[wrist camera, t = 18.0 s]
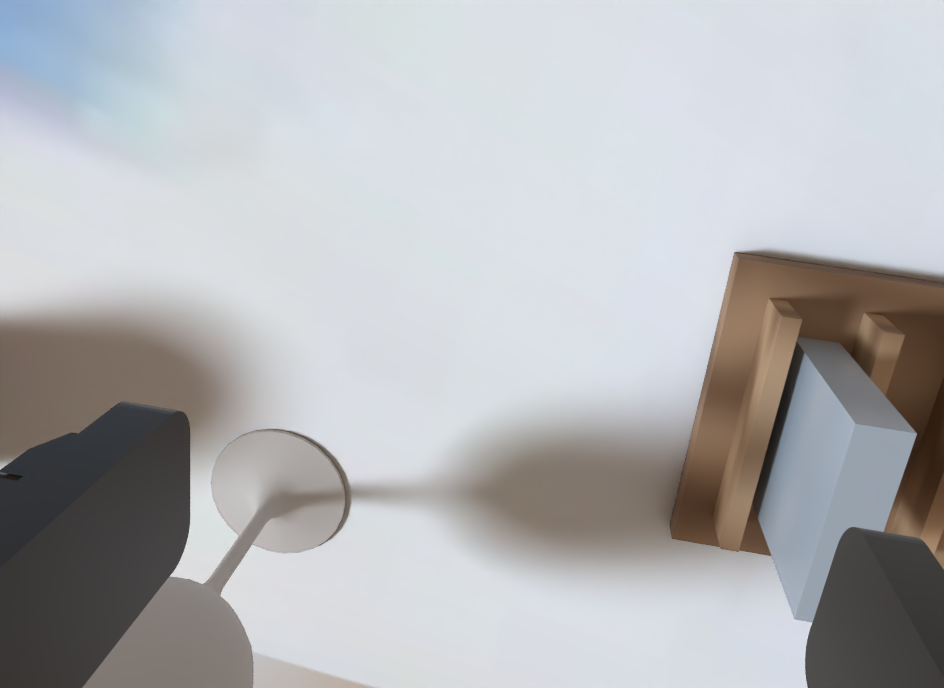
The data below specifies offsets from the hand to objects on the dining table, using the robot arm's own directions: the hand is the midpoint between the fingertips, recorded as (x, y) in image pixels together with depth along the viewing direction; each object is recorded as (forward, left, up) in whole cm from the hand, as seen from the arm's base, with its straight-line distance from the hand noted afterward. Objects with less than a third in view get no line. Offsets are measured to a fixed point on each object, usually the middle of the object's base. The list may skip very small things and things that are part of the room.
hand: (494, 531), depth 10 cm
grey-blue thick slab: (+9, +12, -27) cm, 31 cm away
